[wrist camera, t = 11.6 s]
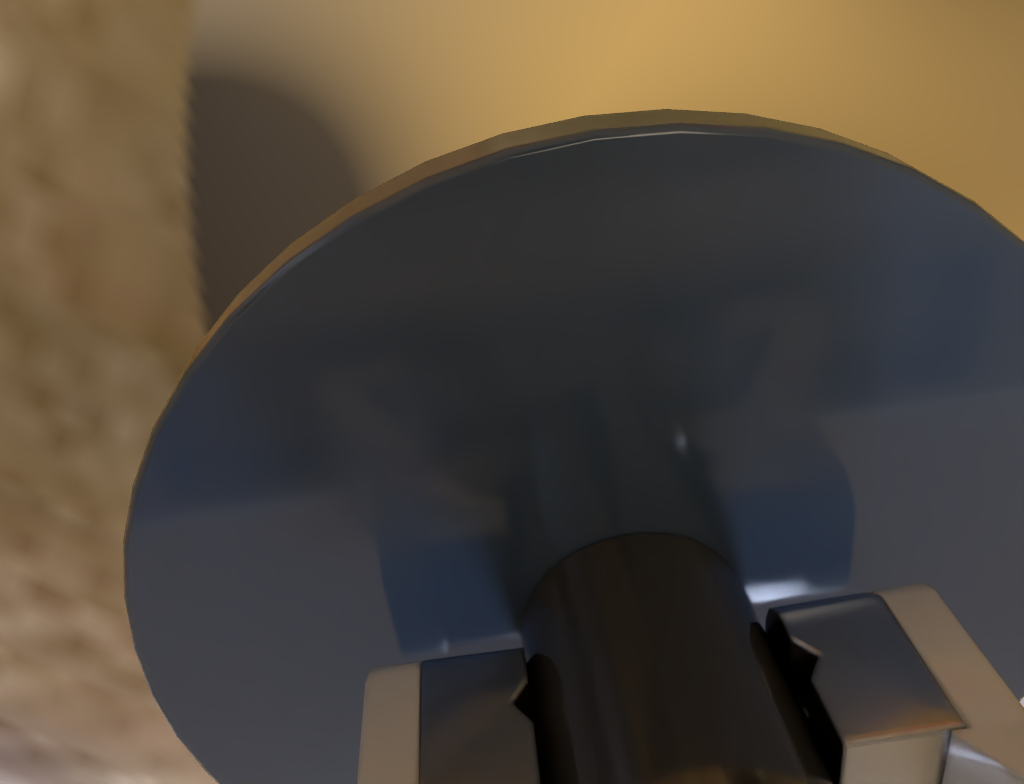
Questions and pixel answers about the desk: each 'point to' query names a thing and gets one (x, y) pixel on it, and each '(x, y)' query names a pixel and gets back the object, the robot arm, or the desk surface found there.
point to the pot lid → (586, 447)
